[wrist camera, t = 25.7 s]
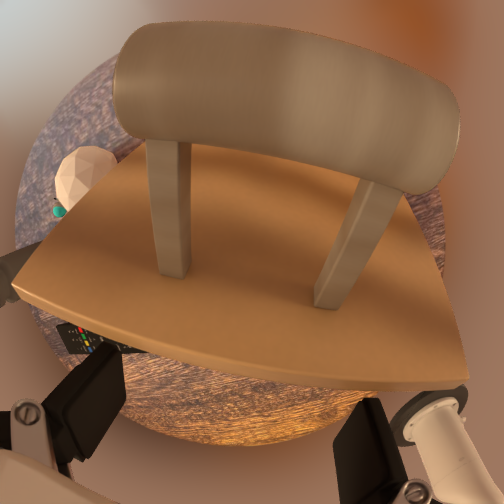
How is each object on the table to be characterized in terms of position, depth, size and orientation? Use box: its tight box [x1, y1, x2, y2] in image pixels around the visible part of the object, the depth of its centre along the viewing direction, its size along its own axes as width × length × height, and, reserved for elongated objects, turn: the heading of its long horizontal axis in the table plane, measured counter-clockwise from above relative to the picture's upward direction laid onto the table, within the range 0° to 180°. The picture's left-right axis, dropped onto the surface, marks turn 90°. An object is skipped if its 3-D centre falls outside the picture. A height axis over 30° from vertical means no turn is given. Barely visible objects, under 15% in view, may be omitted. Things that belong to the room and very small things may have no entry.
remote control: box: [56, 323, 149, 354], centre depth 34 cm, size 5×24×1 cm, turn 103°
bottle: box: [0, 240, 43, 308], centre depth 25 cm, size 6×6×15 cm
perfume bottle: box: [53, 146, 118, 217], centre depth 26 cm, size 8×8×12 cm
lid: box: [11, 21, 469, 392], centre depth 9 cm, size 16×14×7 cm
